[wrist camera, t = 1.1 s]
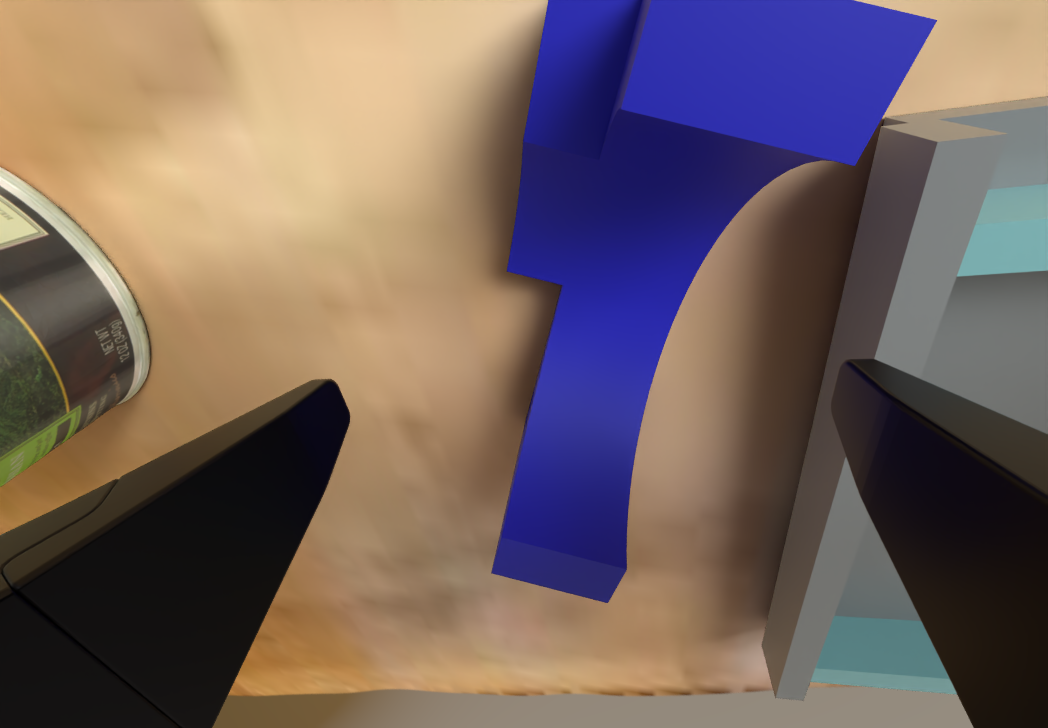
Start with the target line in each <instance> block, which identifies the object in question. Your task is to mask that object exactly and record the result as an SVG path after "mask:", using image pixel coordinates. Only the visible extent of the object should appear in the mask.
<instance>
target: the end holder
mask: <svg viewBox="0 0 1048 728" xmlns="http://www.w3.org/2000/svg"><path fill="white" fill-rule="evenodd" d="M848 359H876V360H878V361H881V362H883V363H885V364H888V365H890V366H892V367H894V368H897V369H899V370H901V371H904V372H906V373H908V374H911V375H913V376H915V377H917V378H920V379H922V380H924V381H927V382H929V383H931V384H934V385H936V386H938V387H940V388H943V389H945V390H947V391H950V392H952V393H954V394H957V395H959V396H961V397H963V398H966V399H968V400H970V401H973V402H975V403H977V404H980V405H982V406H984V407H986V408H989V409H991V410H993V411H996V412H998V413H1000V414H1003V415H1005V416H1007V417H1009V418H1012V419H1014V420H1016V421H1019V422H1021V423H1023V424H1026V425H1028V426H1030V427H1032V428H1035V429H1037V430H1039V431H1042V432H1044V433H1046V434H1048V96H1047V97H1039V98H1031V99H1024V100H1016V101H1008V102H1000V103H993V104H985V105H977V106H969V107H962V108H954V109H946V110H938V111H931V112H923V113H915V114H907V115H900V116H892V117H885V120H884V124H883V126H881V129H880V133H879V137H878V142H877V146H876V150H875V155H874V159H873V163H872V168H871V172H870V176H869V181H868V185H867V189H866V194H865V198H864V202H863V207H862V211H861V216H860V220H859V224H858V229H857V233H856V237H855V242H854V246H853V250H852V255H851V259H850V263H849V268H848V272H847V276H846V281H845V285H844V289H843V294H842V298H841V302H840V307H839V311H838V315H837V320H836V324H835V329H834V333H833V337H832V342H831V346H830V350H829V355H828V359H827V363H826V368H825V372H824V376H823V381H822V385H821V389H820V394H819V398H818V402H817V407H816V411H815V415H814V420H813V424H812V429H811V433H810V437H809V442H808V446H807V450H806V455H805V459H804V463H803V468H802V472H801V476H800V481H799V485H798V489H797V494H796V498H795V502H794V507H793V511H792V515H791V520H790V524H789V528H788V533H787V537H786V542H785V546H784V550H783V555H782V559H781V563H780V568H779V572H778V576H777V581H776V585H775V589H774V594H773V598H772V602H771V607H770V611H769V615H768V620H767V624H766V628H765V633H764V637H763V642H762V648H763V652H764V656H765V660H766V664H767V667H768V671H769V675H770V679H771V683H772V687H773V691H774V694H775V698H780V699H781V698H782V699H791V700H802V701H803V700H804V698H805V695H806V692H807V690H808V687H809V684H810V682H818V683H830V684H841V685H853V686H865V687H876V688H888V689H900V690H912V691H923V692H936V693H947V694H957V693H956V691H955V689H954V687H953V685H952V683H951V681H950V679H949V677H948V675H947V672H946V670H945V668H944V666H943V664H942V662H941V660H940V658H939V656H938V654H937V652H936V650H935V648H934V646H933V644H932V642H931V640H930V638H929V636H928V634H927V632H926V630H925V628H924V626H923V624H922V622H921V620H920V618H919V616H918V614H917V612H916V610H915V608H914V606H913V604H912V601H911V599H910V597H909V595H908V593H907V591H906V589H905V587H904V585H903V583H902V581H901V579H900V577H899V575H898V573H897V571H896V569H895V567H894V565H893V563H892V561H891V559H890V557H889V555H888V553H887V551H886V549H885V547H884V545H883V543H882V541H881V539H880V537H879V535H878V533H877V530H876V528H875V526H874V524H873V522H872V520H871V518H870V516H869V514H868V512H867V510H866V508H865V506H864V504H863V501H862V499H861V497H860V495H859V492H858V489H857V487H856V484H855V481H854V478H853V475H852V473H851V470H850V467H849V464H848V461H847V458H846V455H845V452H844V449H843V446H842V444H841V441H840V438H839V435H838V432H837V429H836V426H835V423H834V420H833V417H832V414H831V399H832V395H833V391H834V387H835V383H836V379H837V375H838V371H839V368H840V365H841V364H842V362H844V361H845V360H848Z"/></svg>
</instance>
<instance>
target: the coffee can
mask: <svg viewBox="0 0 1048 728" xmlns="http://www.w3.org/2000/svg"><path fill="white" fill-rule="evenodd" d="M149 365H150V344H149V338H148V333H147V329H146V326H145V323H144V320H143V318H142V315H141V313H140V311H139V309H138V307H137V304H136V302H135V300H134V298H133V296H132V294H131V292H130V290H129V288H128V286H127V284H126V283H125V281H124V279H123V278H122V276H121V275H120V274H119V272H118V271H117V270H116V268H115V267H114V266H113V264H112V263H111V262H110V260H109V259H108V258H107V256H106V255H105V254H104V252H103V251H102V250H101V249H100V248H99V247H98V246H97V244H96V243H95V242H94V241H93V240H92V239H91V238H90V237H89V236H88V235H87V233H86V232H85V231H84V230H83V229H82V228H81V227H80V226H79V225H78V224H77V223H76V222H75V221H74V220H73V219H71V218H70V217H69V216H68V215H67V214H66V213H65V212H64V211H63V210H62V209H61V208H59V207H58V206H57V205H55V204H54V203H53V202H51V201H50V200H49V199H48V198H46V197H45V196H44V195H43V194H42V193H40V192H39V191H38V190H36V189H35V188H33V187H32V186H31V185H29V184H28V183H26V182H25V181H23V180H22V179H20V178H19V177H17V176H16V175H14V174H12V173H11V172H9V171H7V170H5V169H3V168H2V167H0V487H1V486H3V485H4V484H6V483H7V482H9V481H10V480H11V479H12V478H14V477H15V476H17V475H18V474H20V473H21V472H22V471H24V470H25V469H27V468H28V467H30V466H31V465H32V464H34V463H35V462H37V461H38V460H39V459H41V458H42V457H44V456H45V455H46V454H48V453H49V452H50V451H52V450H53V449H55V448H56V447H57V446H59V445H60V444H62V443H64V442H65V441H67V440H68V439H69V438H70V437H72V436H73V435H74V434H76V433H77V432H79V431H80V430H82V429H83V428H85V427H86V426H88V425H89V424H90V423H92V422H93V421H94V420H96V419H97V418H98V417H100V416H101V415H103V414H104V413H105V412H107V411H108V410H110V409H111V408H113V407H114V406H116V405H118V404H121V403H123V402H125V401H127V400H129V399H130V398H131V397H133V396H134V395H135V394H136V393H137V392H138V390H139V389H140V388H141V387H142V385H143V383H144V382H145V380H146V377H147V375H148V371H149Z"/></svg>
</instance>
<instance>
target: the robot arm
mask: <svg viewBox="0 0 1048 728" xmlns="http://www.w3.org/2000/svg"><path fill="white" fill-rule="evenodd" d="M831 414H832V417H833V420H834V423H835V426H836V429H837V432H838V435H839V438H840V441H841V444H842V446H843V449H844V452H845V455H846V458H847V461H848V464H849V467H850V470H851V473H852V475H853V478H854V481H855V484H856V487H857V489H858V492H859V495H860V497H861V499H862V501H863V504H864V506H865V508H866V510H867V512H868V514H869V516H870V518H871V520H872V522H873V524H874V526H875V528H876V530H877V533H878V535H879V537H880V539H881V541H882V543H883V545H884V547H885V549H886V551H887V553H888V555H889V557H890V559H891V561H892V563H893V565H894V567H895V569H896V571H897V573H898V575H899V577H900V579H901V581H902V583H903V585H904V587H905V589H906V591H907V593H908V595H909V597H910V599H911V601H912V604H913V606H914V608H915V610H916V612H917V614H918V616H919V618H920V620H921V622H922V624H923V626H924V628H925V630H926V632H927V634H928V636H929V638H930V640H931V642H932V644H933V646H934V648H935V650H936V652H937V654H938V656H939V658H940V660H941V662H942V664H943V666H944V668H945V670H946V672H947V675H948V677H949V679H950V681H951V683H952V685H953V687H954V689H955V691H956V693H957V695H958V697H959V699H960V701H961V703H962V705H963V707H964V709H965V711H966V713H967V715H968V717H969V719H970V721H971V723H972V725H973V727H974V728H1048V434H1046V433H1044V432H1042V431H1039V430H1037V429H1035V428H1032V427H1030V426H1028V425H1026V424H1023V423H1021V422H1019V421H1016V420H1014V419H1012V418H1009V417H1007V416H1005V415H1003V414H1000V413H998V412H996V411H993V410H991V409H989V408H986V407H984V406H982V405H980V404H977V403H975V402H973V401H970V400H968V399H966V398H963V397H961V396H959V395H957V394H954V393H952V392H950V391H947V390H945V389H943V388H940V387H938V386H936V385H934V384H931V383H929V382H927V381H924V380H922V379H920V378H917V377H915V376H913V375H911V374H908V373H906V372H904V371H901V370H899V369H897V368H894V367H892V366H890V365H888V364H885V363H883V362H881V361H878V360H876V359H848V360H845V361H844V362H842V364H841V365H840V368H839V371H838V375H837V379H836V383H835V387H834V391H833V395H832V399H831ZM349 423H350V412H349V409H348V407H347V405H346V402H345V400H344V398H343V396H342V393H341V391H340V389H339V386H338V384H337V383H336V382H335V381H334V380H332V379H318V380H312V381H309V382H307V383H305V384H303V385H301V386H299V387H297V388H295V389H293V390H291V391H289V392H287V393H285V394H283V395H282V396H280V397H278V398H276V399H274V400H272V401H270V402H268V403H266V404H264V405H262V406H260V407H258V408H256V409H254V410H252V411H250V412H248V413H246V414H244V415H242V416H240V417H238V418H236V419H234V420H232V421H230V422H228V423H226V424H224V425H222V426H220V427H218V428H216V429H214V430H212V431H210V432H208V433H206V434H204V435H202V436H200V437H198V438H196V439H194V440H192V441H190V442H188V443H186V444H184V445H183V446H181V447H179V448H177V449H175V450H173V451H171V452H169V453H167V454H165V455H163V456H161V457H159V458H157V459H155V460H153V461H151V462H149V463H147V464H145V465H143V466H141V467H139V468H137V469H135V470H133V471H131V472H129V473H127V474H125V475H123V476H122V477H121V478H120V479H115V480H113V481H111V482H109V483H107V484H105V485H103V486H101V487H99V488H97V489H95V490H93V491H91V492H89V493H87V494H85V495H83V496H81V497H79V498H77V499H75V500H73V501H71V502H69V503H67V504H65V505H63V506H61V507H59V508H57V509H55V510H53V511H51V512H48V513H46V514H44V515H42V516H40V517H38V518H36V519H34V520H32V521H29V522H27V523H25V524H23V525H21V526H19V527H17V528H15V529H13V530H10V531H8V532H6V533H4V534H2V535H0V728H212V727H213V725H214V723H215V721H216V719H217V716H218V715H219V713H220V710H221V708H222V706H223V704H224V702H225V700H226V698H227V696H228V694H229V692H230V690H231V687H232V685H233V683H234V681H235V679H236V677H237V675H238V673H239V671H240V669H241V666H242V664H243V662H244V660H245V658H246V656H247V654H248V652H249V650H250V648H251V646H252V643H253V641H254V639H255V637H256V635H257V633H258V631H259V629H260V627H261V625H262V623H263V620H264V618H265V616H266V614H267V612H268V610H269V608H270V606H271V604H272V602H273V599H274V597H275V595H276V593H277V591H278V589H279V587H280V585H281V583H282V581H283V579H284V576H285V574H286V572H287V570H288V568H289V566H290V564H291V562H292V560H293V558H294V556H295V553H296V551H297V549H298V547H299V545H300V543H301V541H302V539H303V537H304V535H305V532H306V530H307V528H308V526H309V524H310V522H311V520H312V518H313V516H314V514H315V512H316V509H317V507H318V505H319V503H320V501H321V499H322V497H323V494H324V492H325V490H326V487H327V485H328V482H329V480H330V477H331V474H332V472H333V469H334V466H335V463H336V460H337V457H338V455H339V452H340V449H341V446H342V443H343V441H344V438H345V435H346V432H347V429H348V427H349Z"/></svg>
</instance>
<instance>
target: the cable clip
mask: <svg viewBox="0 0 1048 728" xmlns="http://www.w3.org/2000/svg"><path fill="white" fill-rule="evenodd" d="M936 21H937V20H934V19H930V18H926V17H922V16H917V15H913V14H909V13H905V12H900V11H896V10H892V9H888V8H884V7H879V6H875V5H871V4H867V3H863V2H858V1H854V0H548V6H547V12H546V17H545V23H544V28H543V34H542V39H541V45H540V50H539V56H538V61H537V67H536V73H535V78H534V84H533V89H532V95H531V100H530V106H529V111H528V117H527V122H526V128H525V134H524V139H523V153H522V168H521V179H520V188H519V197H518V205H517V212H516V219H515V226H514V232H513V238H512V245H511V250H510V256H509V262H508V267H507V272H511V273H515V274H519V275H523V276H527V277H532V278H536V279H540V280H544V281H548V282H552V283H556V284H560V285H562V286H561V290H560V294H559V298H558V301H557V305H556V309H555V313H554V316H553V320H552V324H551V328H550V331H549V335H548V339H547V343H546V347H545V350H544V354H543V358H542V362H541V365H540V369H539V373H538V377H537V380H536V384H535V388H534V392H533V395H532V399H531V403H530V407H529V410H528V414H527V418H526V422H525V426H524V430H523V435H522V439H521V444H520V448H519V453H518V457H517V461H516V466H515V470H514V475H513V479H512V484H511V488H510V493H509V497H508V501H507V506H506V510H505V515H504V519H503V524H502V528H501V532H500V537H499V541H498V546H497V550H496V555H495V559H494V564H493V568H492V572H491V573H493V574H496V575H500V576H504V577H508V578H512V579H516V580H520V581H524V582H528V583H531V584H535V585H539V586H543V587H547V588H551V589H555V590H559V591H563V592H566V593H570V594H574V595H578V596H582V597H586V598H590V599H594V600H598V601H601V602H605V603H608V602H609V600H610V598H611V597H612V595H613V593H614V591H615V589H616V588H617V586H618V584H619V582H620V581H621V579H622V577H623V575H624V574H625V572H626V570H627V552H626V550H627V521H628V507H629V495H630V487H631V478H632V471H633V465H634V458H635V452H636V447H637V441H638V436H639V432H640V427H641V422H642V418H643V414H644V409H645V405H646V402H647V398H648V394H649V390H650V387H651V383H652V380H653V377H654V373H655V370H656V367H657V364H658V361H659V358H660V355H661V352H662V349H663V347H664V344H665V341H666V338H667V336H668V333H669V331H670V328H671V326H672V323H673V321H674V318H675V316H676V314H677V311H678V309H679V307H680V305H681V303H682V300H683V298H684V296H685V294H686V292H687V290H688V288H689V286H690V284H691V282H692V280H693V278H694V276H695V275H696V273H697V271H698V269H699V267H700V266H701V264H702V262H703V261H704V259H705V257H706V256H707V254H708V252H709V251H710V249H711V248H712V246H713V245H714V243H715V242H716V240H717V239H718V237H719V236H720V235H721V233H722V232H723V230H724V229H725V228H726V226H727V225H728V224H729V223H730V221H731V220H732V219H733V218H734V216H735V215H736V214H737V213H738V212H739V211H740V209H741V208H742V207H743V206H744V205H745V204H746V203H747V202H748V201H749V200H750V199H751V198H752V197H753V196H754V195H755V194H756V193H757V192H758V191H760V190H761V189H762V188H763V187H764V186H766V185H767V184H768V183H770V182H771V181H772V180H774V179H775V178H776V177H778V176H780V175H782V174H783V173H785V172H787V171H788V170H790V169H793V168H795V167H798V166H800V165H803V164H805V163H810V162H815V161H820V160H826V161H836V162H840V163H844V164H848V165H853V166H855V165H856V163H857V161H858V159H859V158H860V156H861V154H862V152H863V151H864V149H865V147H866V145H867V144H868V142H869V140H870V138H871V136H872V135H873V133H874V131H875V129H876V128H877V126H878V124H879V122H880V121H881V119H882V117H883V115H884V113H885V112H886V110H887V108H888V106H889V105H890V103H891V101H892V99H893V98H894V96H895V94H896V92H897V90H898V89H899V87H900V85H901V83H902V82H903V80H904V78H905V76H906V75H907V73H908V71H909V69H910V67H911V66H912V64H913V62H914V60H915V59H916V57H917V55H918V53H919V51H920V50H921V48H922V46H923V44H924V43H925V41H926V39H927V37H928V36H929V34H930V32H931V30H932V28H933V27H934V25H935V23H936Z"/></svg>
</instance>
